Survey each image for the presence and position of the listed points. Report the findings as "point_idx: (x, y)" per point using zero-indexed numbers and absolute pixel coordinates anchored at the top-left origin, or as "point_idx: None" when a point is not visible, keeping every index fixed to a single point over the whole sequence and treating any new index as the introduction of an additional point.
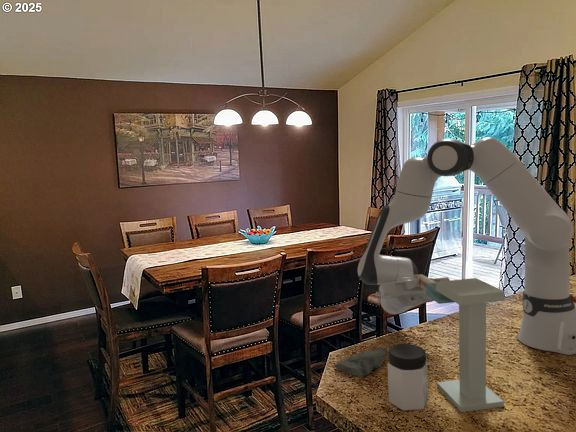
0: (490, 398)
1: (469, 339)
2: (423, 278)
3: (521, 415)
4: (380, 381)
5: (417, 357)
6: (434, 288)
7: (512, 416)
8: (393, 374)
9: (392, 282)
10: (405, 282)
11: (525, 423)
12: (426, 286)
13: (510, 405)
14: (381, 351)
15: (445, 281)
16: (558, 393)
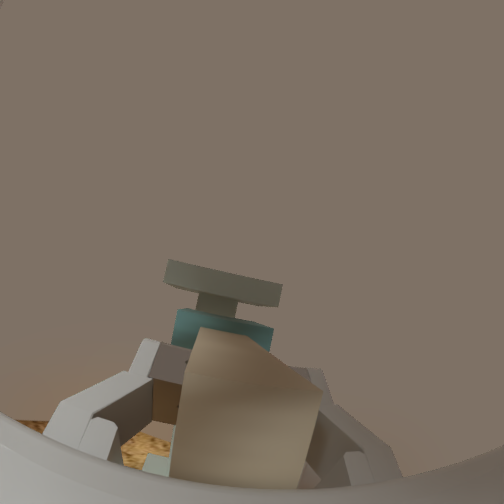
0: (162, 462)
1: None
2: (241, 351)
3: (141, 445)
4: None
5: None
6: (257, 323)
7: (155, 449)
8: None
9: (500, 447)
10: (398, 467)
11: (151, 439)
12: (270, 340)
13: (135, 456)
14: None
15: (256, 279)
16: (44, 429)
